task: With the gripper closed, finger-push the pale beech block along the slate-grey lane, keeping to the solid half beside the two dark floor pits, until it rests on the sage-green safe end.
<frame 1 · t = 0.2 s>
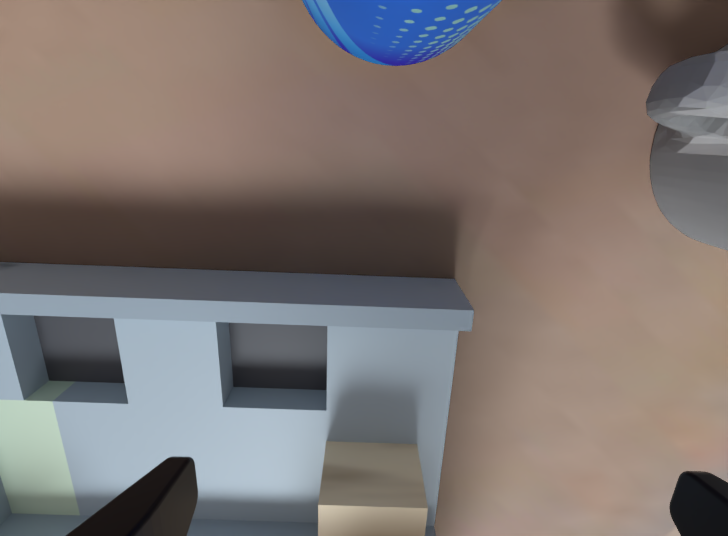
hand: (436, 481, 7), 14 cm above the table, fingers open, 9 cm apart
beech block: (369, 478, 23), point 2 cm above the table, touching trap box
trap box: (218, 398, 24), on the table
coffee mug: (724, 127, 19), on the table
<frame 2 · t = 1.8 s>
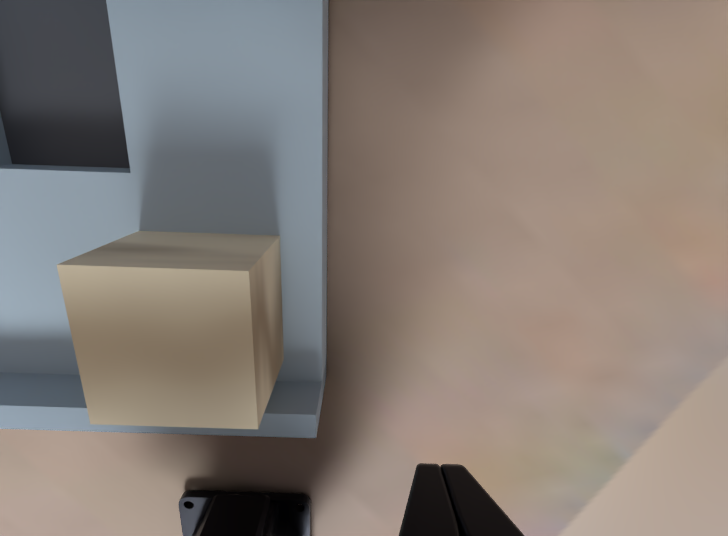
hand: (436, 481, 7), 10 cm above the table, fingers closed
beech block: (215, 298, 15), point 2 cm above the table, touching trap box
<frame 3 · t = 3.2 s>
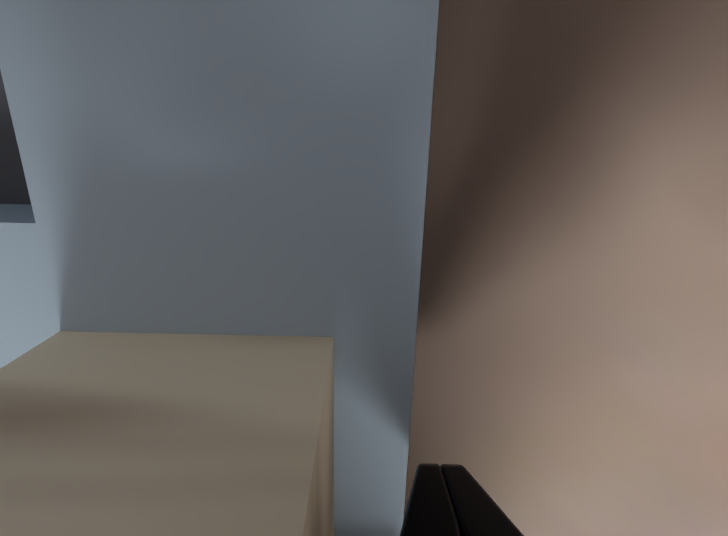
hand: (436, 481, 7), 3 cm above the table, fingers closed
beech block: (209, 445, 8), point 2 cm above the table, touching gripper
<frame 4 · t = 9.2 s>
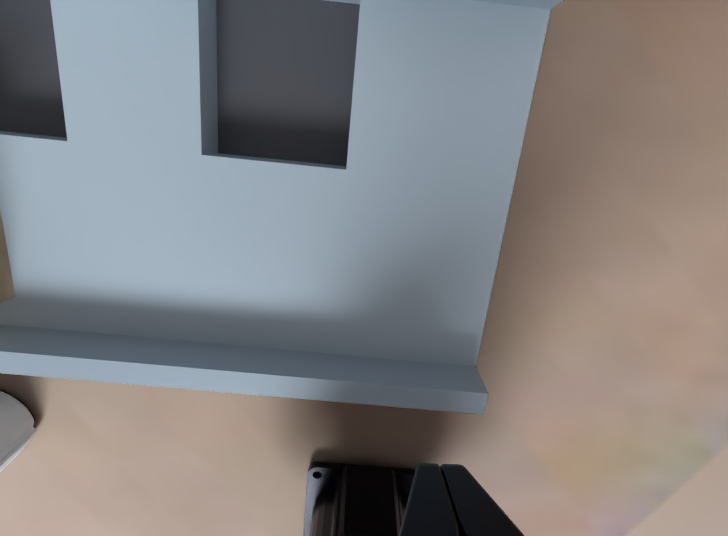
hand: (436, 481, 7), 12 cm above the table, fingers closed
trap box: (196, 174, 17), on the table
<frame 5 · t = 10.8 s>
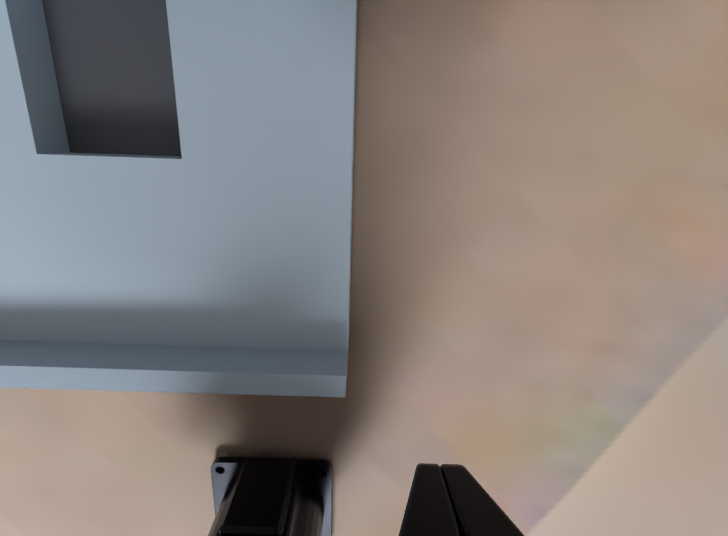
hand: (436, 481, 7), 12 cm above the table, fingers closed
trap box: (54, 175, 18), on the table
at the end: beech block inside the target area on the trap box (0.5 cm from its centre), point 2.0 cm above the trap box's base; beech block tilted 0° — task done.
